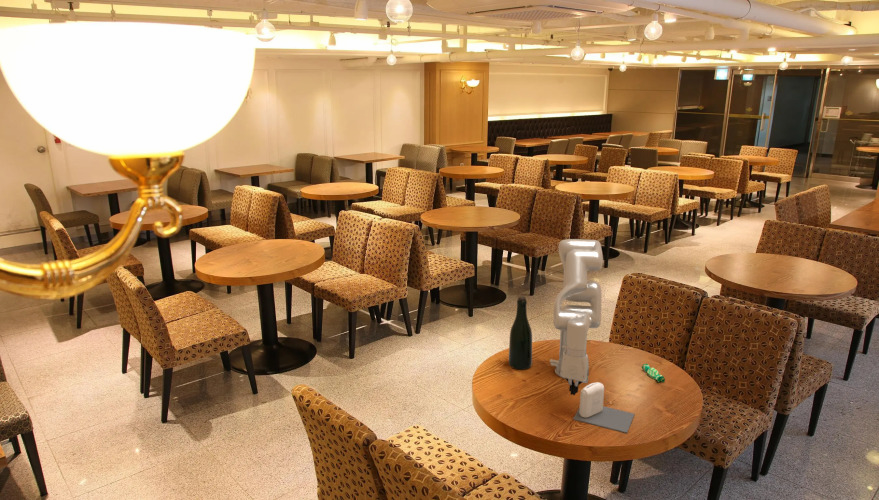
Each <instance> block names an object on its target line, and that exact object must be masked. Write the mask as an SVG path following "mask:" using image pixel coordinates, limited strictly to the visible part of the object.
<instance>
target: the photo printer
mask: <svg viewBox="0 0 879 500" xmlns="http://www.w3.org/2000/svg"><path fill="white" fill-rule="evenodd" d="M579 395H580V396H579V408H580V410H579V413H580V415H581V416H582V417H584V418H587V417H590V416H592V415H595V414H597V413H599V412H601V411H602V410H603V406H604V397H605V386H604V384H603V383H602V382H600V381H599V382H598V381H597V382H592V383H588V384H587V385H586V386H584V387H583V388H582V389H581V391H580V394H579Z"/></svg>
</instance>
